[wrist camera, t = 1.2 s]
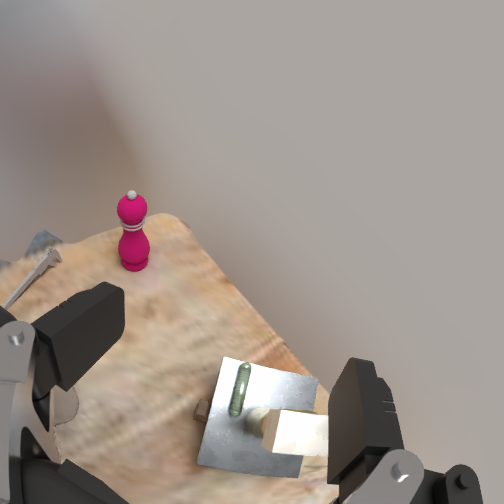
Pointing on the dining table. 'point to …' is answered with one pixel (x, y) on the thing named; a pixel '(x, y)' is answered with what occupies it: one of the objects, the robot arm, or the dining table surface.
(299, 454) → the brushed metal stamp
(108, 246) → the dining table surface
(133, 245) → the pepper mill
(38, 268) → the caliper
